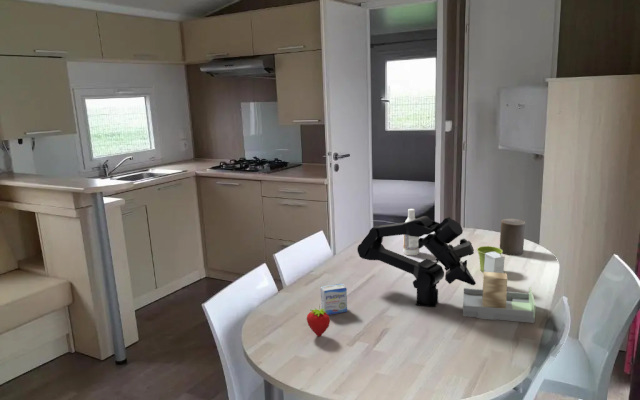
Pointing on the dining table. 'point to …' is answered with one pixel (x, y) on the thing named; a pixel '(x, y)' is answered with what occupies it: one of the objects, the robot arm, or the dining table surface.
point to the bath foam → (410, 238)
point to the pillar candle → (512, 236)
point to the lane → (516, 308)
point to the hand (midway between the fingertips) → (474, 284)
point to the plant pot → (484, 250)
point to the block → (494, 290)
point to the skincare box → (494, 262)
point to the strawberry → (318, 321)
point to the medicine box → (334, 299)
